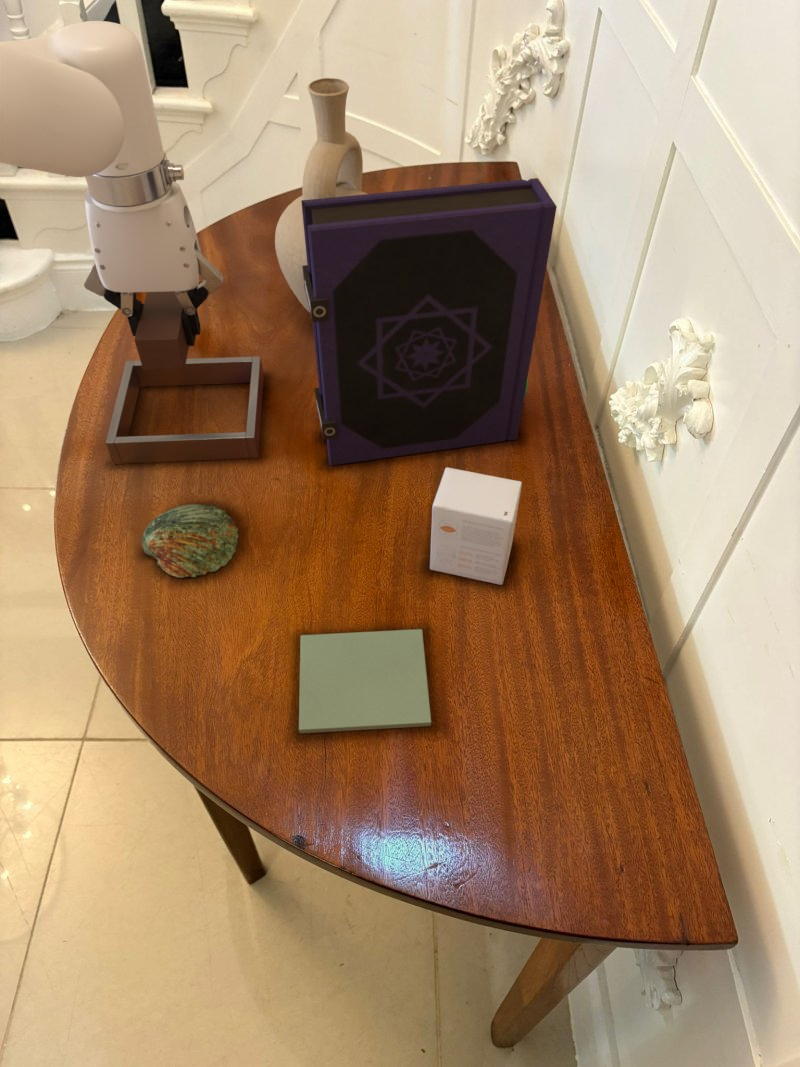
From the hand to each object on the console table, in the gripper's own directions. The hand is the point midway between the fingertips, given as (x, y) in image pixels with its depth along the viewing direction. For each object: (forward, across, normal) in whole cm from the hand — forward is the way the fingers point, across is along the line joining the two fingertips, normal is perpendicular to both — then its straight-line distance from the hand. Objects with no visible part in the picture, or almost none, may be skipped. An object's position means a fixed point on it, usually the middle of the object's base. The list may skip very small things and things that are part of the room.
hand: (168, 337), depth 87 cm
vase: (+12, -19, -22) cm, 32 cm away
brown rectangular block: (+1, 0, 0) cm, 1 cm away
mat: (+13, -20, +38) cm, 45 cm away
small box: (+13, -32, +24) cm, 42 cm away
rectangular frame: (+12, 0, 0) cm, 12 cm away
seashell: (+13, -2, +20) cm, 24 cm away
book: (+12, -28, +5) cm, 31 cm away
